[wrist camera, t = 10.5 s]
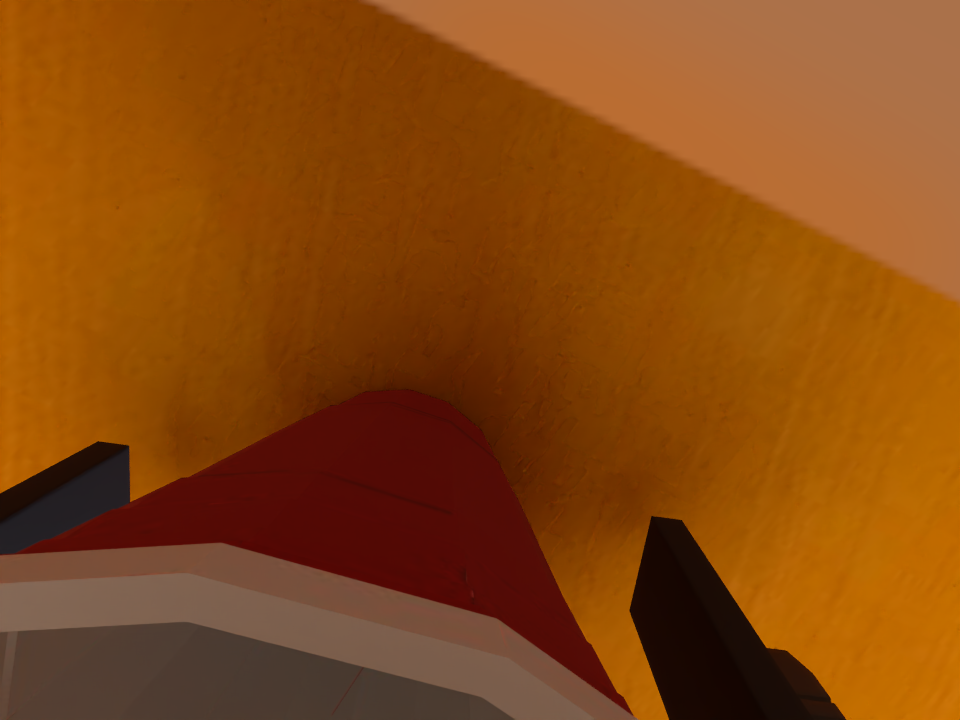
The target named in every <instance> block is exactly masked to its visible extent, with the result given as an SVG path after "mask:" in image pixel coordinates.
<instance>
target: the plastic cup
mask: <svg viewBox="0 0 960 720" xmlns="http://www.w3.org/2000/svg"><path fill="white" fill-rule="evenodd" d="M0 720H638V719H637V718H635V717H634V716H633V714H632V712H631V710H630V709H629V707H628V705H627V703H626V701H625V699H624V697H622V696H621V695H620V694H618V693H617V692H616V690H615V688H614V686H613V684H612V683H611V681H610V679H609V677H608V675H607V673H606V671H605V669H604V668H603V666H602V664H601V662H600V660H599V658H598V656H597V655H596V653H595V651H594V649H593V647H592V645H591V644H589V643H588V642H587V641H586V639H585V637H584V635H583V633H582V631H581V630H580V628H579V626H578V624H577V622H576V620H575V618H574V617H573V615H572V613H571V611H570V609H569V607H568V605H567V603H566V602H565V600H564V598H563V596H562V594H561V591H560V589H559V587H558V585H557V583H556V581H555V578H554V576H553V574H552V572H551V570H550V567H549V565H548V563H547V561H546V559H545V557H544V554H543V552H542V550H541V548H540V546H539V544H538V541H537V539H536V537H535V535H534V533H533V530H532V528H531V526H530V524H529V522H528V520H527V517H526V515H525V513H524V511H523V509H522V507H521V505H520V503H519V501H518V499H517V497H516V495H515V493H514V491H513V489H512V488H511V486H510V484H509V482H508V480H507V478H506V476H505V474H504V472H503V470H502V468H501V466H500V465H499V463H498V461H497V459H496V457H495V456H494V454H493V452H492V450H491V448H490V446H489V444H488V442H487V440H486V438H485V436H484V434H483V432H482V431H481V429H479V428H478V427H477V426H476V425H475V424H473V423H472V422H471V421H470V420H469V419H467V418H466V417H465V416H464V415H463V414H461V413H460V412H459V411H458V410H457V409H455V408H454V407H453V406H452V405H451V404H449V403H448V402H446V401H443V400H440V399H437V398H434V397H431V396H428V395H425V394H422V393H419V392H416V391H413V390H408V389H406V390H389V391H372V392H364V393H362V394H359V395H357V396H355V397H353V398H351V399H349V400H347V401H345V402H343V403H341V404H339V405H331V406H329V407H327V408H325V409H322V410H320V411H318V412H316V413H314V414H312V415H310V416H308V417H306V418H304V419H302V420H300V421H298V422H296V423H293V424H291V425H289V426H287V427H285V428H283V429H281V430H279V431H277V432H275V433H273V434H271V435H269V436H267V437H265V438H264V439H262V440H260V441H258V442H256V443H254V444H252V445H250V446H248V447H246V448H244V449H242V450H240V451H238V452H236V453H235V454H233V455H231V456H229V457H227V458H225V459H223V460H221V461H219V462H217V463H215V464H213V465H211V466H209V467H207V468H206V469H204V470H202V471H200V472H198V473H196V474H194V475H192V476H190V477H186V478H180V479H178V480H176V481H174V482H172V483H170V484H168V485H166V486H164V487H161V488H159V489H157V490H155V491H153V492H151V493H149V494H147V495H145V496H143V497H141V498H139V499H136V500H134V501H132V502H130V503H128V504H126V505H124V506H122V507H120V508H118V509H112V510H110V511H107V512H105V513H103V514H101V515H99V516H97V517H95V518H93V519H91V520H89V521H87V522H85V523H83V524H80V525H78V526H76V527H74V528H72V529H70V530H68V531H66V532H64V533H62V534H60V535H58V536H55V537H53V538H51V539H47V540H42V541H40V542H38V543H35V544H33V545H31V546H29V547H27V548H25V549H23V550H21V551H19V552H17V553H13V554H0Z"/></svg>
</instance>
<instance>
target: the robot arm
mask: <svg viewBox="0 0 960 720" xmlns="http://www.w3.org/2000/svg"><path fill="white" fill-rule="evenodd" d="M128 503H130V471H129V446H128V445H121V444H114V443H106V442H99V441H98V442H96V443H94V444H92V445H90V446H89V447H87V448H85V449H83V450H81V451H79V452H77V453H75V454H74V455H72V456H70V457H68V458H66V459H64V460H62V461H60V462H59V463H57V464H55V465H53V466H51V467H49V468H47V469H45V470H44V471H42V472H40V473H38V474H36V475H34V476H32V477H30V478H29V479H27V480H25V481H23V482H21V483H19V484H17V485H15V486H14V487H12V488H10V489H8V490H6V491H4V492H2V493H0V554H13V553H17V552H19V551H21V550H23V549H25V548H27V547H29V546H31V545H33V544H35V543H38V542H40V541H42V540H47V539H51V538H53V537H55V536H58V535H60V534H62V533H64V532H66V531H68V530H70V529H72V528H74V527H76V526H78V525H80V524H83V523H85V522H87V521H89V520H91V519H93V518H95V517H97V516H99V515H101V514H103V513H105V512H107V511H110V510H112V509H118V508H120V507H122V506H124V505H126V504H128ZM629 611H630V613H631V616H632V619H633V622H634V624H635V627H636V630H637V632H638V635H639V638H640V641H641V643H642V646H643V649H644V652H645V654H646V657H647V660H648V663H649V665H650V668H651V671H652V673H653V676H654V679H655V682H656V684H657V687H658V690H659V693H660V695H661V698H662V701H663V704H664V706H665V709H666V712H667V714H668V717H669V720H846V719H845V717H844V716H843V714H842V713H841V712H840V710H839V709H838V708H837V706H836V705H835V704H834V703H831V698H830V697H829V695H828V694H827V693H826V691H825V690H824V688H823V687H822V686H821V684H820V683H819V682H818V680H817V679H816V677H815V676H814V675H813V673H812V672H810V671H809V670H808V669H807V668H806V667H805V666H804V665H802V664H801V663H800V662H799V661H798V660H797V659H796V658H794V657H793V656H792V655H791V654H790V653H789V652H787V651H785V650H778V649H770V648H766V647H765V645H764V644H763V642H762V641H761V639H760V638H759V636H758V635H757V633H756V632H755V630H754V629H753V627H752V626H751V624H750V623H749V621H748V620H747V618H746V617H745V615H744V614H743V612H742V611H741V609H740V608H739V606H738V605H737V603H736V602H735V600H734V598H733V597H732V595H731V594H730V592H729V591H728V589H727V588H726V586H725V585H724V583H723V582H722V580H721V579H720V577H719V576H718V574H717V573H716V571H715V570H714V568H713V567H712V565H711V564H710V562H709V561H708V559H707V558H706V556H705V555H704V553H703V552H702V550H701V549H700V547H699V546H698V544H697V543H696V541H695V540H694V538H693V537H692V535H691V533H690V532H689V530H688V529H687V527H686V526H685V524H684V523H683V521H682V520H676V519H669V518H662V517H654V516H651V520H650V525H649V529H648V533H647V538H646V542H645V546H644V550H643V555H642V559H641V563H640V568H639V572H638V576H637V580H636V585H635V589H634V593H633V598H632V602H631V606H630V610H629Z"/></svg>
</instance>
